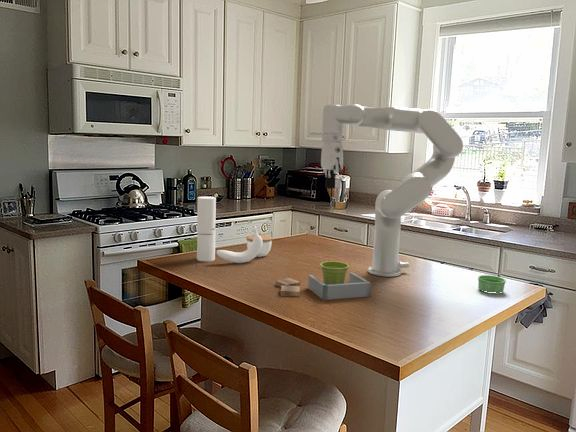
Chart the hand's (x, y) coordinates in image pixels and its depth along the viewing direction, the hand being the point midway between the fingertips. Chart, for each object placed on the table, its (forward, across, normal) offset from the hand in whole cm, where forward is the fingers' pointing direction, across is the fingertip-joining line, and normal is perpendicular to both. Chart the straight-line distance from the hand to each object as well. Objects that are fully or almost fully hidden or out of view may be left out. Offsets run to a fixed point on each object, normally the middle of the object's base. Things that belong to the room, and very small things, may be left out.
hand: (330, 188), depth 194 cm
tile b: (+32, -24, +25) cm, 47 cm away
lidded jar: (+31, +29, +18) cm, 46 cm away
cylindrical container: (+31, +27, +41) cm, 58 cm away
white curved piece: (+31, +18, +29) cm, 47 cm away
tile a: (+32, -16, +22) cm, 42 cm away
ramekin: (+32, -39, -44) cm, 67 cm away
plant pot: (+32, -24, +9) cm, 41 cm away
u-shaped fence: (+32, -26, +9) cm, 42 cm away
